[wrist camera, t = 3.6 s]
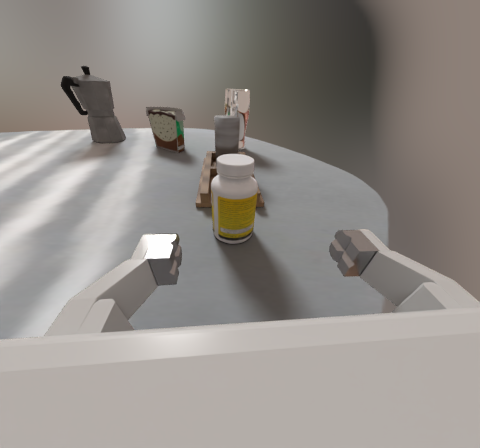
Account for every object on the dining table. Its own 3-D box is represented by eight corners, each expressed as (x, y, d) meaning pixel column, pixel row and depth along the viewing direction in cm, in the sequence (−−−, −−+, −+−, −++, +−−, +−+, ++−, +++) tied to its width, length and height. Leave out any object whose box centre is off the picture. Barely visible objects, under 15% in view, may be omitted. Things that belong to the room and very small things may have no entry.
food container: (197, 149, 55) (194, 110, 49) (182, 154, 51) (176, 112, 45) (169, 142, 60) (163, 105, 54) (153, 145, 56) (144, 106, 50)
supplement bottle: (261, 235, 25) (272, 162, 19) (227, 251, 22) (228, 172, 16) (237, 215, 28) (240, 149, 22) (205, 228, 25) (199, 155, 20)
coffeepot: (111, 134, 65) (88, 67, 54) (136, 136, 64) (118, 68, 53) (73, 145, 52) (33, 61, 42) (103, 148, 52) (71, 63, 41)
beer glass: (248, 151, 56) (252, 90, 47) (225, 150, 55) (225, 88, 46) (245, 145, 62) (248, 89, 53) (224, 144, 61) (224, 88, 52)
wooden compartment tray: (263, 206, 31) (274, 136, 24) (196, 207, 29) (188, 133, 23) (247, 162, 48) (250, 114, 41) (204, 161, 47) (201, 112, 40)
